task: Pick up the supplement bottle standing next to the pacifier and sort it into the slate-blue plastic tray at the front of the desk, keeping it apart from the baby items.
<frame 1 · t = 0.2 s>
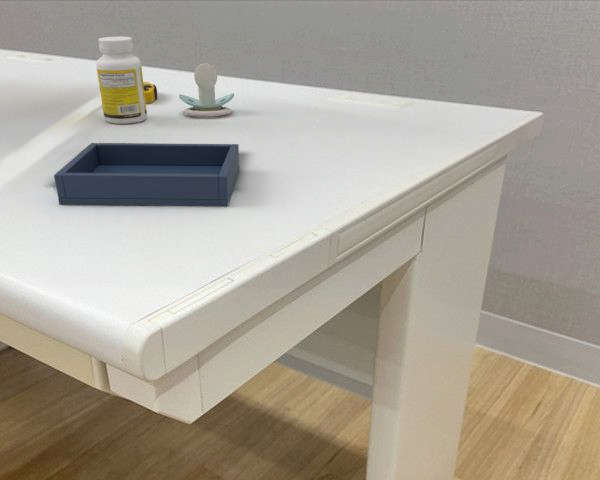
supplement bottle: (126, 121, 82), on the table
pacifier: (207, 115, 85), on the table
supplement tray: (156, 186, 58), on the table
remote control: (141, 95, 97), on the table
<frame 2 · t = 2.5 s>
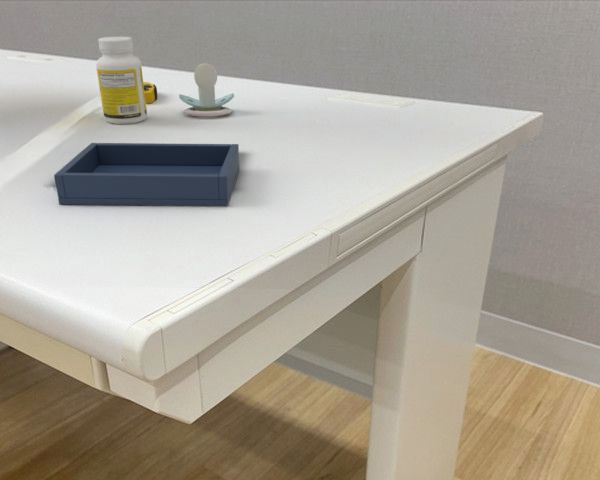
nothing on the table moved.
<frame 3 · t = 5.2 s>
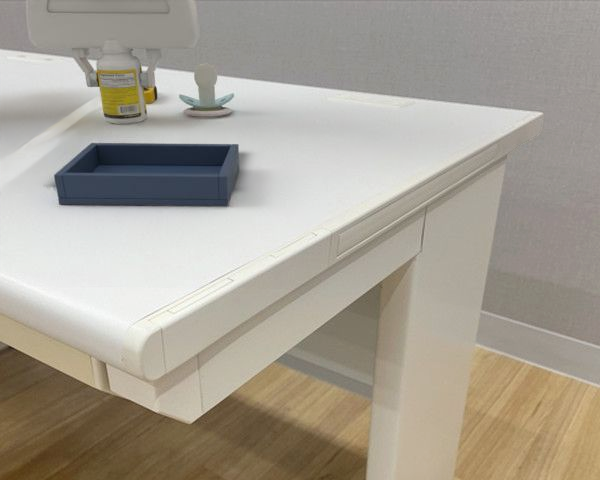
hand: (122, 86, 80), 4 cm above the table, tool pointing down, fingers closed on supplement bottle, 5 cm apart
supplement bottle: (126, 121, 82), on the table, touching gripper
everything else where it was.
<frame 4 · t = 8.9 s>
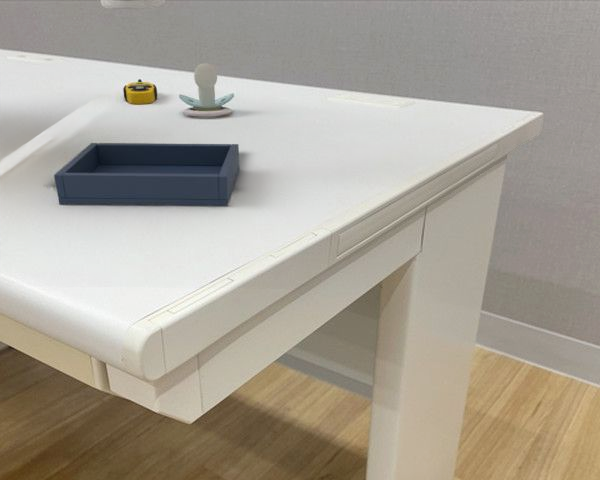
supplement bottle: (133, 10, 54), point 15 cm above the table, touching gripper
everything else where it was.
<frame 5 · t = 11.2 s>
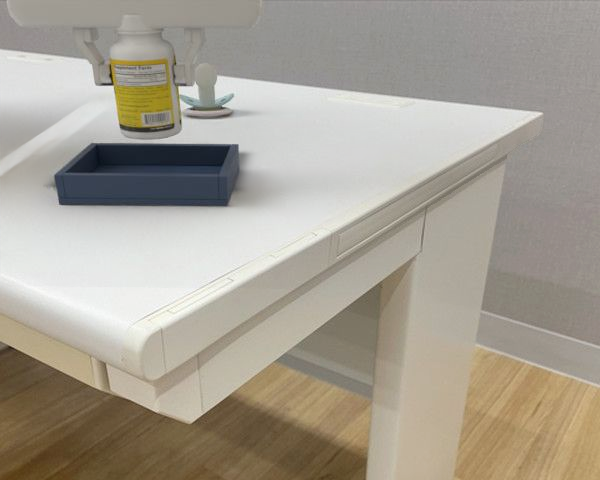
hand: (146, 85, 54), 9 cm above the table, tool pointing down, fingers closed on supplement bottle, 5 cm apart
supplement bottle: (151, 135, 56), point 5 cm above the table, touching gripper
everything else where it was.
when the fingers open (5 cm above the table, at t = 12.8 s): supplement bottle stays where it is, resting on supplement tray.
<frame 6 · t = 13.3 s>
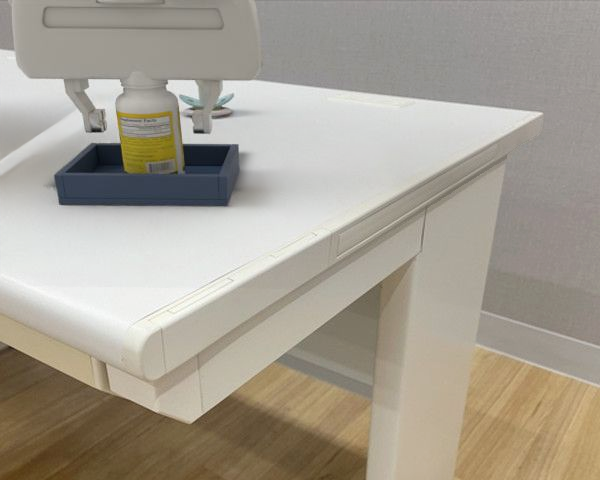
hand: (149, 132, 56), 5 cm above the table, tool pointing down, fingers open, 8 cm apart
supplement bottle: (155, 181, 58), resting on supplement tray
everything else where it was.
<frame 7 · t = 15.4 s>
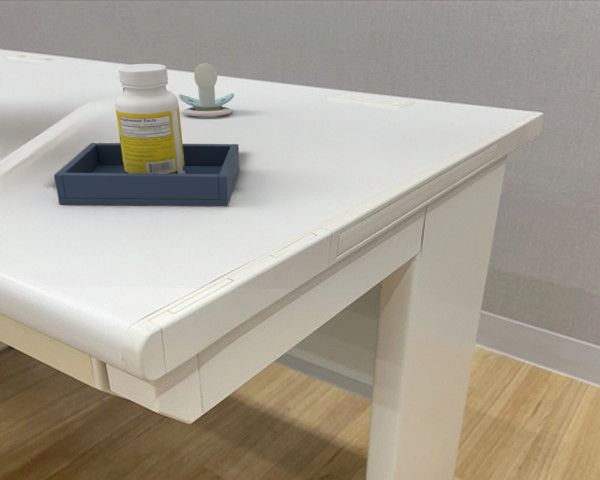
nothing on the table moved.
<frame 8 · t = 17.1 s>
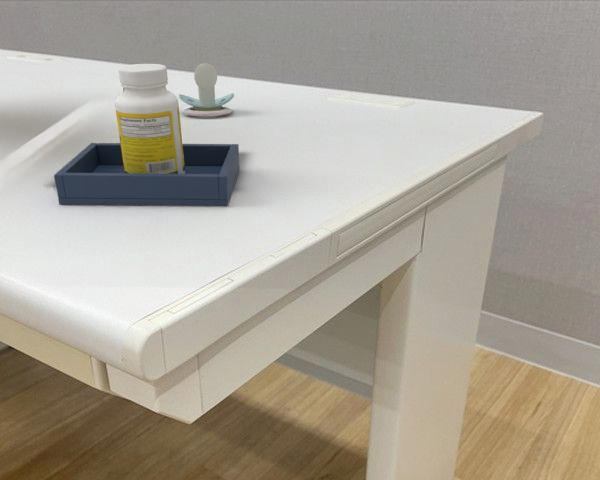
nothing on the table moved.
at the end: supplement bottle inside the target area in the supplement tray (0.1 cm from its centre), point 0.4 cm above the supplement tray's base; supplement bottle tilted 0° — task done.
